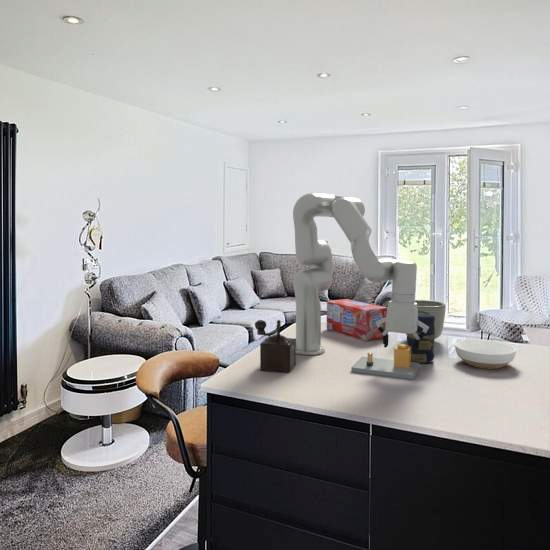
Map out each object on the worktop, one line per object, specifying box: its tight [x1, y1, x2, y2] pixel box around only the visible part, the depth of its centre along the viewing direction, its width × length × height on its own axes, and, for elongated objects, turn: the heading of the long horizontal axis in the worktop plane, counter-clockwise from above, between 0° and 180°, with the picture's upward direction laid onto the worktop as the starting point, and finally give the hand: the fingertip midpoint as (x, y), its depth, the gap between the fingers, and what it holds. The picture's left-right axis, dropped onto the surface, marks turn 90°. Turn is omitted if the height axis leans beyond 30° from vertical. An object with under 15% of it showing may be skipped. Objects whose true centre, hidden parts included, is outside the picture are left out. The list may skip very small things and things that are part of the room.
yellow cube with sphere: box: [393, 343, 412, 368], centre depth 161 cm, size 5×5×7 cm
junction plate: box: [350, 355, 421, 380], centre depth 162 cm, size 20×14×2 cm
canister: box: [406, 311, 435, 364], centre depth 171 cm, size 10×10×18 cm
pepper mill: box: [254, 319, 297, 374], centre depth 161 cm, size 16×11×18 cm
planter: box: [405, 299, 446, 341], centre depth 198 cm, size 17×17×16 cm
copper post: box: [367, 352, 373, 366], centre depth 162 cm, size 2×2×6 cm
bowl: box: [454, 339, 517, 370], centre depth 167 cm, size 20×20×6 cm
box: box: [326, 298, 388, 342], centre depth 213 cm, size 27×13×14 cm, turn 33°
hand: (400, 348), depth 161 cm, fingers open, 9 cm apart
